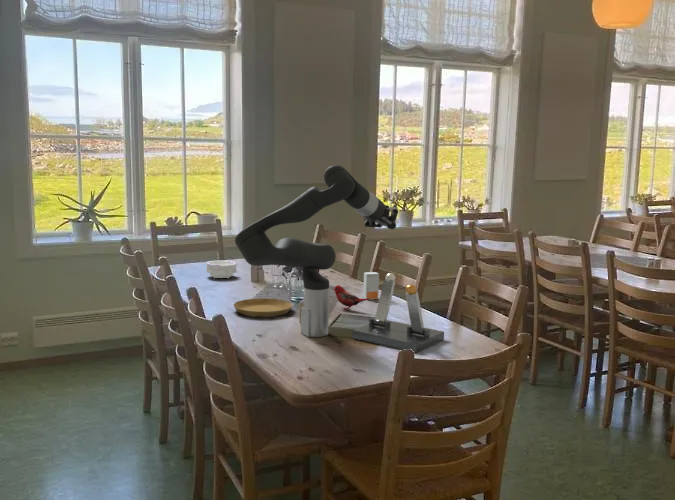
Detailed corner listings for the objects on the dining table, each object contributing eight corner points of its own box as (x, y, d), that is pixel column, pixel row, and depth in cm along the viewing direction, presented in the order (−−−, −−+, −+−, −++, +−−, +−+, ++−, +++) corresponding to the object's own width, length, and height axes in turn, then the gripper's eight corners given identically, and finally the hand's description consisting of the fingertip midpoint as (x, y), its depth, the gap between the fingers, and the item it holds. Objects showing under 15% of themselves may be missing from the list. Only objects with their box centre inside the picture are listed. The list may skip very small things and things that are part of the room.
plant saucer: (249, 303, 280) (249, 295, 279) (301, 308, 273) (301, 300, 272) (223, 316, 257) (223, 307, 257) (278, 322, 250) (278, 313, 249)
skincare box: (365, 300, 289) (366, 274, 287) (362, 298, 293) (363, 272, 291) (378, 299, 291) (379, 273, 289) (375, 297, 295) (376, 271, 293)
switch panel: (416, 353, 215) (416, 336, 214) (352, 338, 230) (352, 323, 229) (443, 339, 231) (444, 324, 230) (382, 326, 246) (383, 312, 245)
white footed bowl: (242, 277, 335) (242, 262, 333) (222, 281, 322) (222, 266, 321) (220, 273, 343) (220, 258, 341) (200, 277, 330) (200, 262, 329)
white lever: (382, 326, 231) (395, 272, 234) (370, 324, 234) (383, 271, 237) (387, 328, 234) (399, 275, 237) (375, 325, 237) (388, 273, 240)
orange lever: (422, 338, 223) (414, 288, 214) (410, 335, 226) (401, 286, 217) (427, 332, 225) (419, 283, 216) (415, 329, 228) (406, 281, 219)
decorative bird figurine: (334, 306, 275) (334, 283, 274) (370, 312, 267) (371, 289, 265) (330, 308, 273) (331, 285, 272) (367, 314, 264) (368, 290, 263)
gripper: (351, 223, 203) (378, 243, 216) (387, 206, 197) (413, 228, 210) (348, 203, 206) (374, 224, 219) (383, 186, 201) (408, 209, 214)
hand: (393, 226), depth 215 cm, fingers closed
